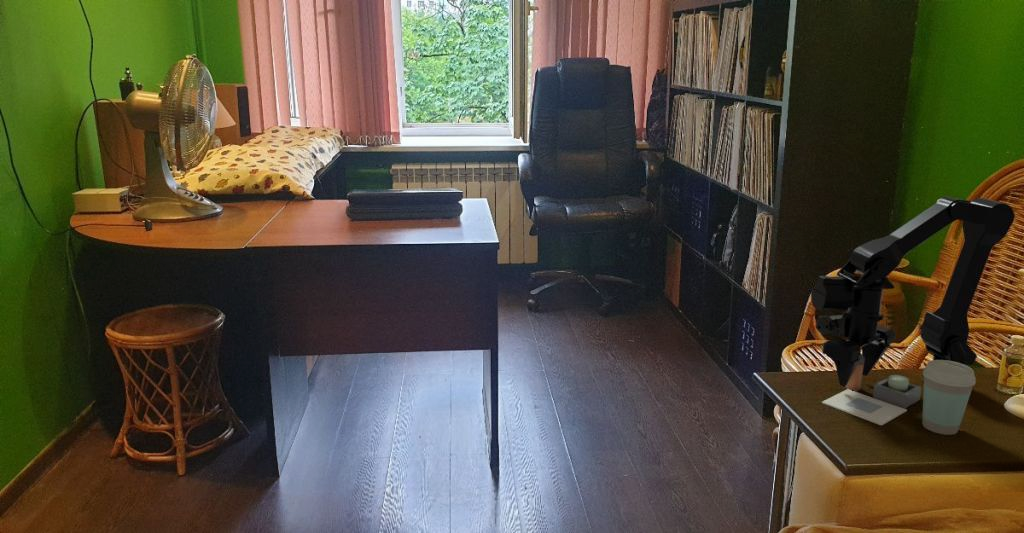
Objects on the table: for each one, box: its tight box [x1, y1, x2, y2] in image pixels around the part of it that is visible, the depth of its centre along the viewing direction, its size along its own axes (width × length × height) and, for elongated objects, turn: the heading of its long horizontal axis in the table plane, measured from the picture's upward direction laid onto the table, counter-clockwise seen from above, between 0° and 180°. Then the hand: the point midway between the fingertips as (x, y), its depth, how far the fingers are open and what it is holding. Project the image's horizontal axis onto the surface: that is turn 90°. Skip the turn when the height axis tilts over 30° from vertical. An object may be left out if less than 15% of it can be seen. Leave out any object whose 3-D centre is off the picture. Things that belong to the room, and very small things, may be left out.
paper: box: [821, 388, 908, 426], centre depth 151 cm, size 10×12×1 cm
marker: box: [845, 354, 865, 392], centre depth 159 cm, size 3×3×7 cm
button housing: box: [872, 376, 922, 409], centre depth 154 cm, size 6×6×3 cm
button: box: [888, 374, 910, 393], centre depth 154 cm, size 4×4×2 cm
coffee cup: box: [921, 359, 977, 436], centre depth 141 cm, size 8×8×12 cm
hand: (853, 380), depth 159 cm, fingers open, 9 cm apart
